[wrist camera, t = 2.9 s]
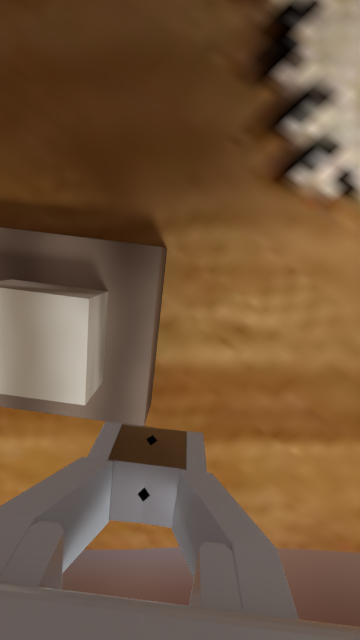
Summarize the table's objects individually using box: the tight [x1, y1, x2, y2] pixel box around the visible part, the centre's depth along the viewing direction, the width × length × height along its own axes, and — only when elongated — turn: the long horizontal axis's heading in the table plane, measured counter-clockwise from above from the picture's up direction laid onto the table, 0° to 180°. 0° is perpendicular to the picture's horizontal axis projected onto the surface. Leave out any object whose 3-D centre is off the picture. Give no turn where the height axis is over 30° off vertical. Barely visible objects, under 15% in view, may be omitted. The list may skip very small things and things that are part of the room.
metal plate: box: [0, 227, 167, 426], centre depth 18 cm, size 16×12×3 cm
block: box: [0, 279, 108, 405], centre depth 16 cm, size 6×6×3 cm
